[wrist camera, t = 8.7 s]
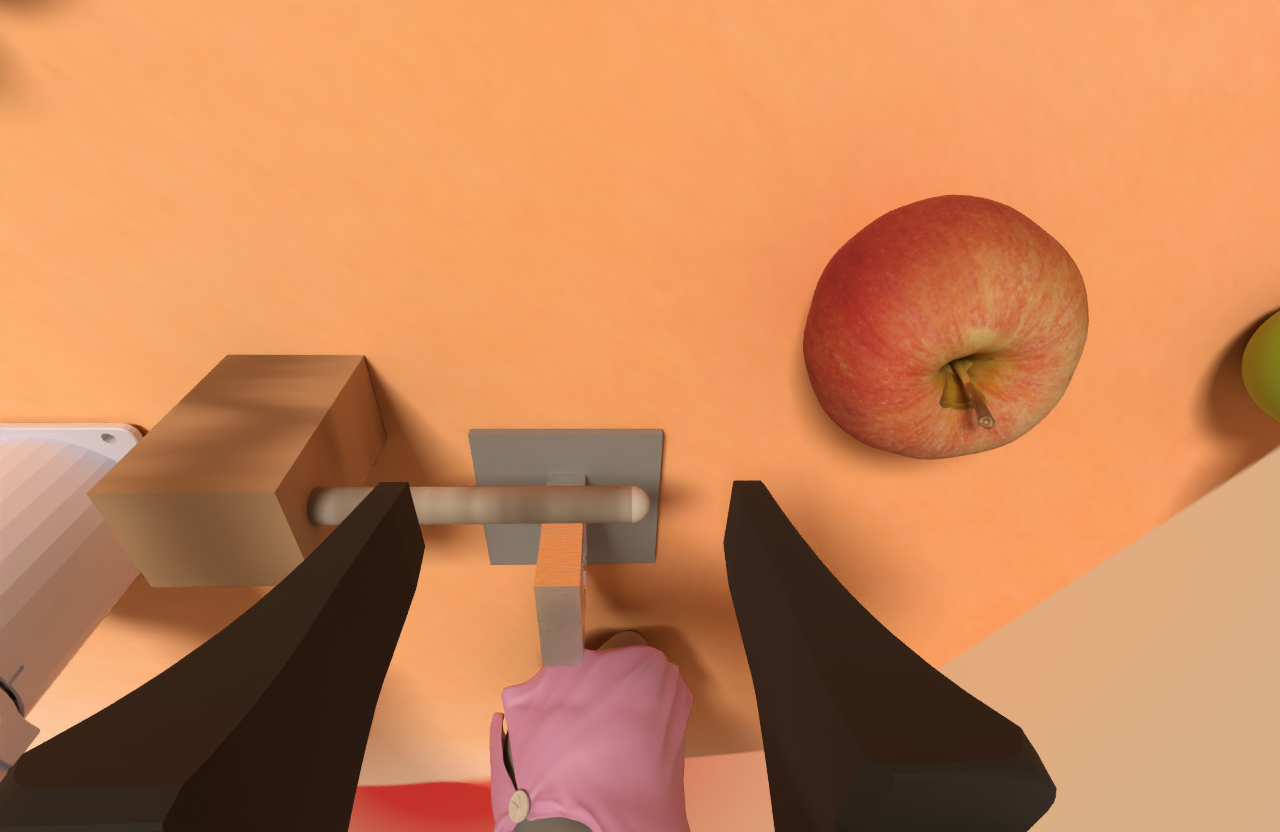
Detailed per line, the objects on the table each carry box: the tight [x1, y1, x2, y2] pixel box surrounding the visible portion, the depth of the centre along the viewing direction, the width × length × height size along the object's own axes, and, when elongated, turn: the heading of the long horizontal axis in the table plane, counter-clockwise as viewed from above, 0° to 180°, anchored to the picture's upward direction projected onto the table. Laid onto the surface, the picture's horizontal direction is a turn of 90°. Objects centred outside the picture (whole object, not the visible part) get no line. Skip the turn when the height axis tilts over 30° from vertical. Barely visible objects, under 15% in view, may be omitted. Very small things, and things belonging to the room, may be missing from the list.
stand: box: [86, 355, 650, 588], centre depth 21 cm, size 16×4×8 cm, turn 88°
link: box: [534, 473, 588, 667], centre depth 25 cm, size 2×5×6 cm, turn 178°
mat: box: [468, 429, 663, 565], centre depth 27 cm, size 8×8×1 cm
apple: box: [803, 195, 1089, 459], centre depth 19 cm, size 8×8×8 cm
